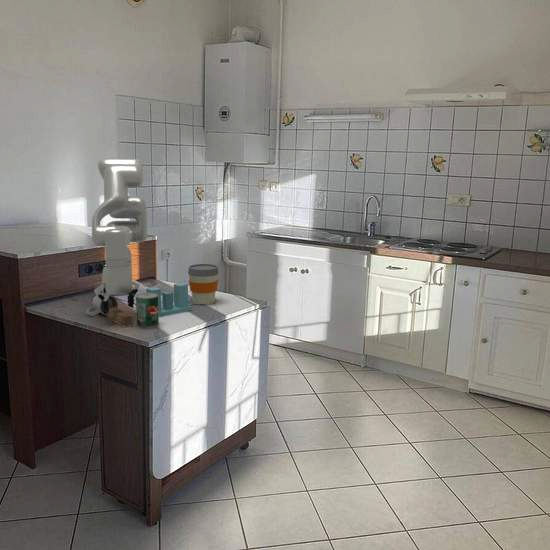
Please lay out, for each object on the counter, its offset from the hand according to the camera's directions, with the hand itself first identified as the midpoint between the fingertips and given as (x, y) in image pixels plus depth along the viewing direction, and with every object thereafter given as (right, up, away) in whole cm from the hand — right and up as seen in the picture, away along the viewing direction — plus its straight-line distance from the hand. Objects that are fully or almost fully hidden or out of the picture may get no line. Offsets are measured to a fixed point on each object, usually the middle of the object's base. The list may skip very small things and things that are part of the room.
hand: (118, 308), depth 205 cm
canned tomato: (+11, -6, -1) cm, 13 cm away
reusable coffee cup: (+27, +1, +30) cm, 41 cm away
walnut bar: (0, -5, +2) cm, 5 cm away
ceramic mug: (-9, -3, +11) cm, 14 cm away
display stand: (+16, -2, +14) cm, 21 cm away
